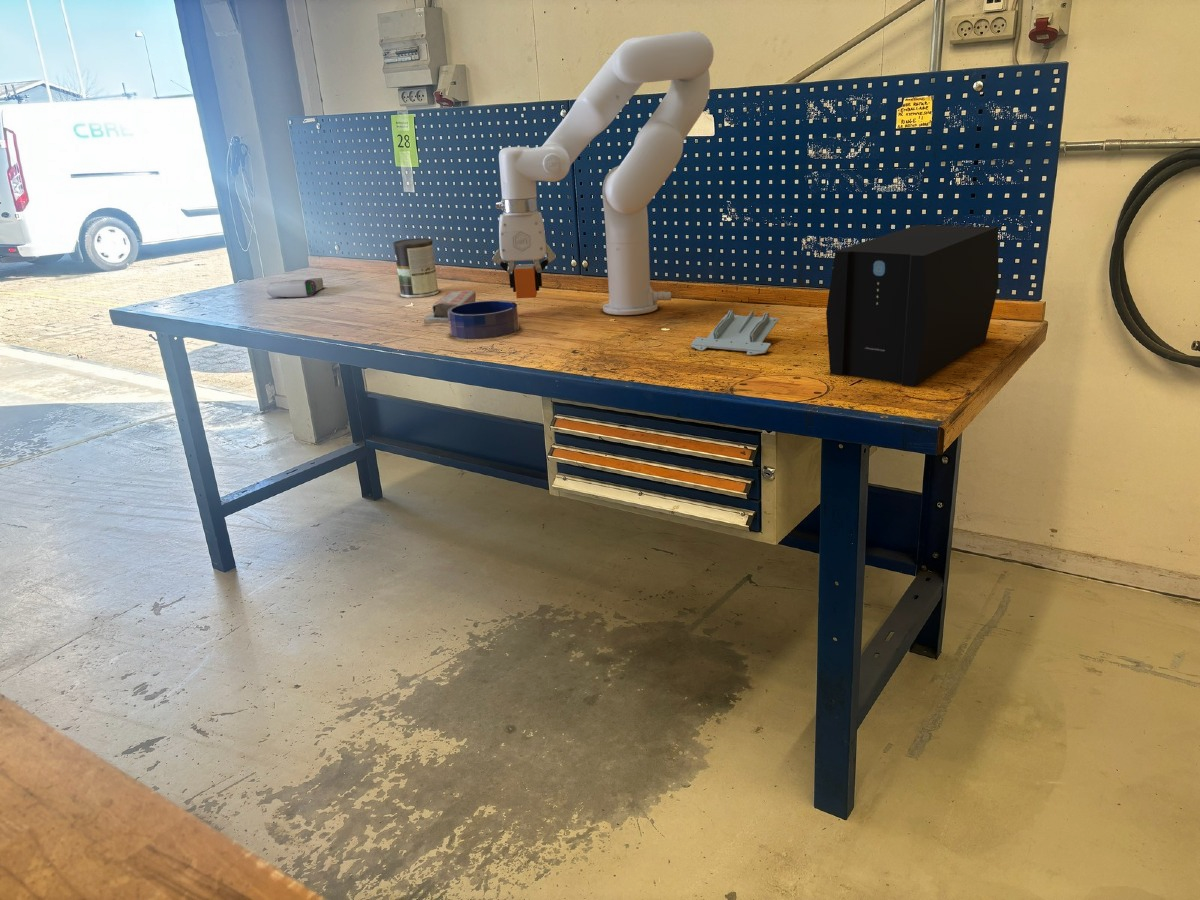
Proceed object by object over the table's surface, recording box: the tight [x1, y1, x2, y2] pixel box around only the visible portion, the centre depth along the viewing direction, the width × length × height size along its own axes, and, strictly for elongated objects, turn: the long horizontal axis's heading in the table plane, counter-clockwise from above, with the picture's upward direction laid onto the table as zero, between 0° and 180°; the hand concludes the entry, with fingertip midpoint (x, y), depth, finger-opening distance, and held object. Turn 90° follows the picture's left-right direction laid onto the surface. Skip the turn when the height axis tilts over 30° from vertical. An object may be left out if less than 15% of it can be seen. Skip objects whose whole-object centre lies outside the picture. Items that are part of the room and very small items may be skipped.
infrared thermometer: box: [266, 277, 324, 298], centre depth 241 cm, size 5×12×15 cm
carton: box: [514, 263, 538, 299], centre depth 191 cm, size 4×5×7 cm
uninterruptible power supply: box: [825, 224, 1000, 387], centre depth 144 cm, size 16×34×20 cm, turn 139°
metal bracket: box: [690, 309, 780, 356], centre depth 161 cm, size 14×6×15 cm
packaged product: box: [423, 289, 477, 324], centre depth 199 cm, size 18×5×10 cm
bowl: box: [448, 300, 520, 340], centre depth 181 cm, size 15×15×6 cm
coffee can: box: [392, 237, 439, 299], centre depth 227 cm, size 10×10×14 cm
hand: (526, 289), depth 192 cm, fingers closed on carton, 4 cm apart
